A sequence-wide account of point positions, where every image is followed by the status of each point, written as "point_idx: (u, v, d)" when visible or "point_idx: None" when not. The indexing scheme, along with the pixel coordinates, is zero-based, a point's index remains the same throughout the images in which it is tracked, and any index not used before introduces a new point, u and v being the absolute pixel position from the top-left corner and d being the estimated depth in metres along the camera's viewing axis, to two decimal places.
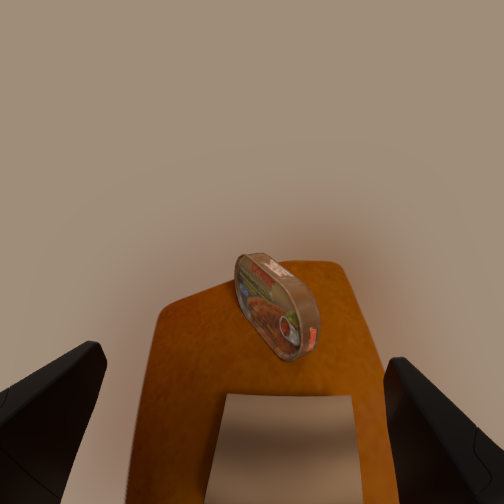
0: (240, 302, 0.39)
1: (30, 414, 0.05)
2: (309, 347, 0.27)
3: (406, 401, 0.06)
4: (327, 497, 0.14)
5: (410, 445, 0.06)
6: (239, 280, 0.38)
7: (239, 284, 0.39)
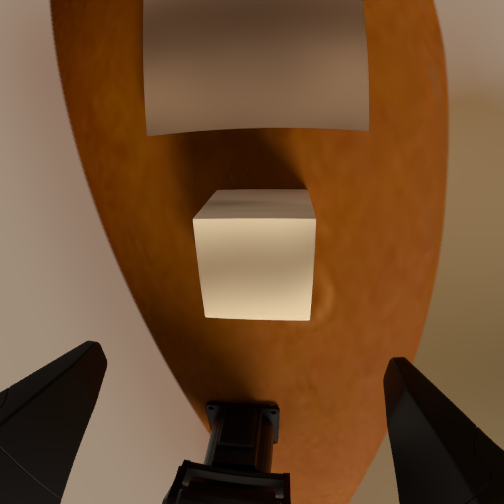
0: None
1: (30, 414, 0.05)
2: None
3: (406, 401, 0.06)
4: (317, 107, 0.12)
5: (410, 445, 0.06)
6: None
7: None
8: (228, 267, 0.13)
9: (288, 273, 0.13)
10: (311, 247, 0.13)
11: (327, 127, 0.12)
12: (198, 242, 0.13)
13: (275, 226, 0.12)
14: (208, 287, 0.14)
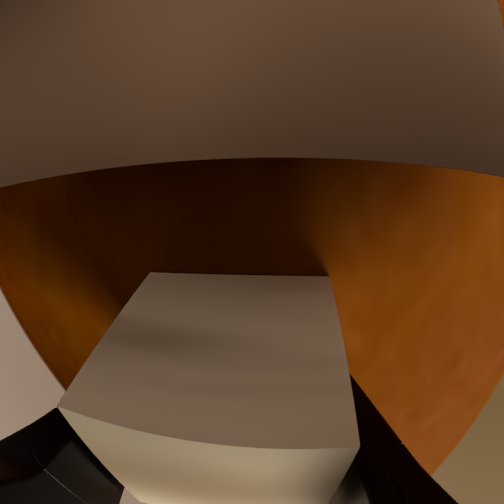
0: None
1: None
2: None
3: None
4: (387, 95, 0.03)
5: None
6: None
7: None
8: (155, 478, 0.05)
9: (280, 499, 0.05)
10: (336, 478, 0.04)
11: (412, 160, 0.04)
12: (85, 439, 0.04)
13: (249, 457, 0.04)
14: (130, 484, 0.05)
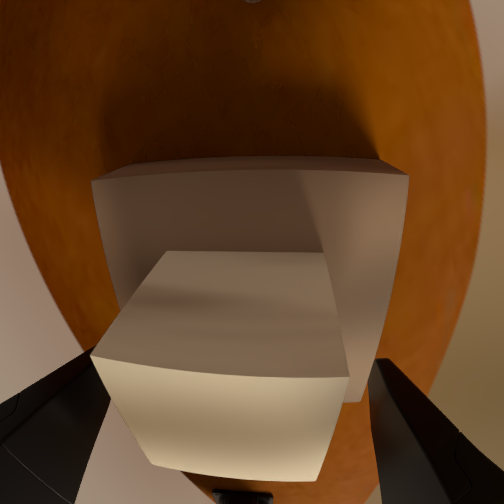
0: None
1: (43, 420, 0.05)
2: None
3: (388, 403, 0.06)
4: None
5: (392, 448, 0.06)
6: None
7: None
8: (171, 428, 0.06)
9: (284, 445, 0.06)
10: (332, 416, 0.05)
11: None
12: (111, 390, 0.06)
13: (258, 389, 0.05)
14: (146, 441, 0.07)
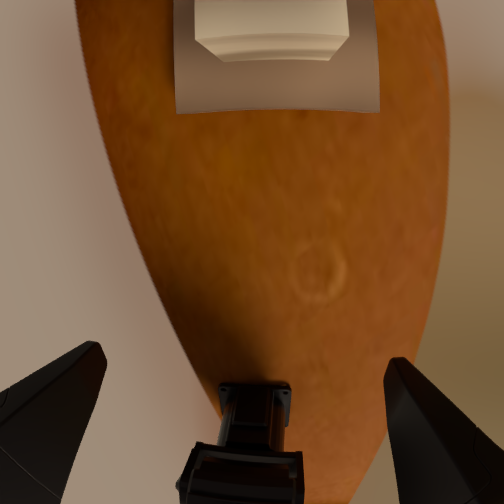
0: None
1: (30, 414, 0.05)
2: None
3: (406, 401, 0.06)
4: (334, 90, 0.13)
5: (410, 445, 0.06)
6: None
7: None
8: None
9: None
10: None
11: (342, 108, 0.13)
12: None
13: None
14: None
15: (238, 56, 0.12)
